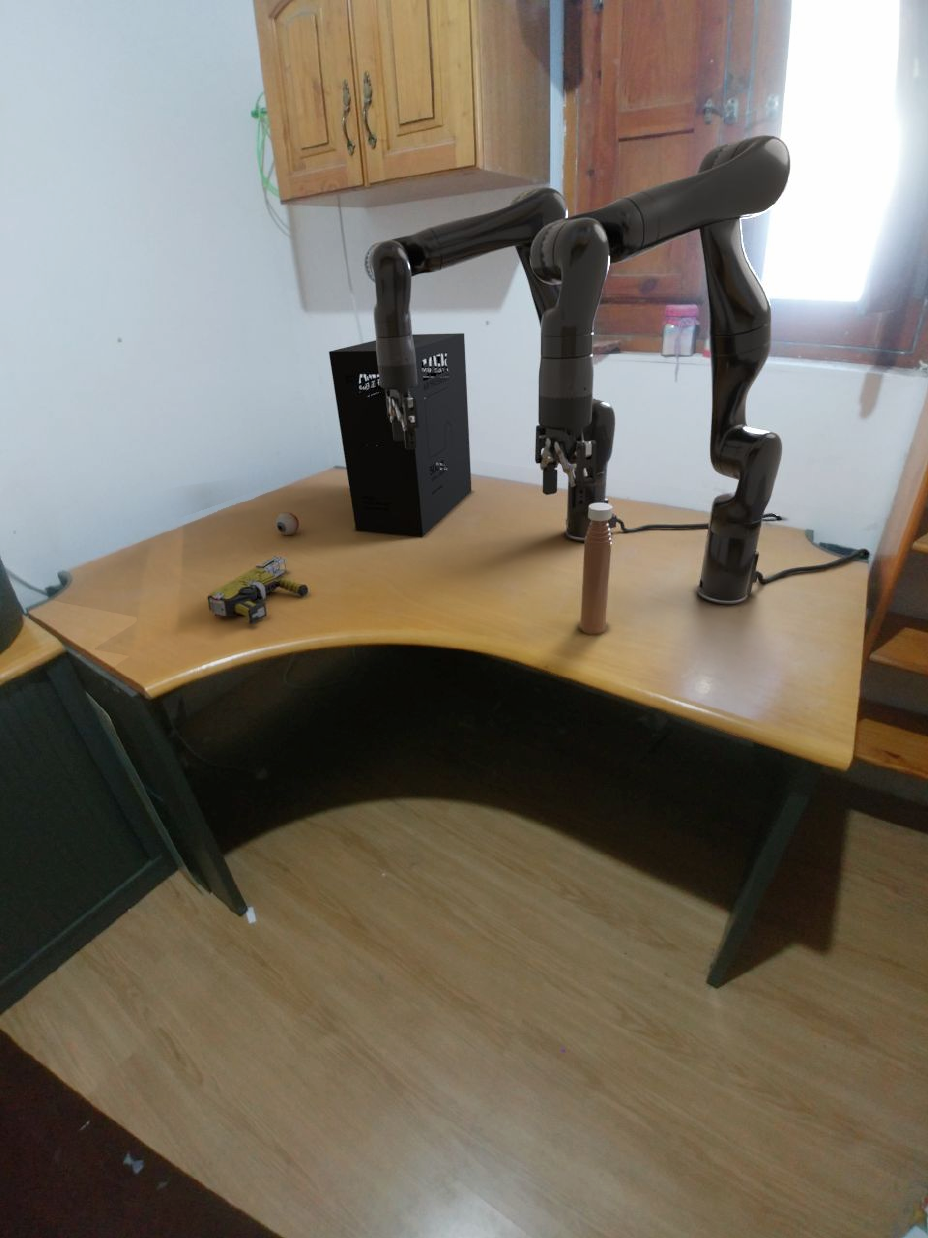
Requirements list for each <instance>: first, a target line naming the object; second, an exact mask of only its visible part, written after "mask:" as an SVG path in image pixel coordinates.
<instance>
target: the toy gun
mask: <svg viewBox="0 0 928 1238" xmlns="http://www.w3.org/2000/svg"><path fill="white" fill-rule="evenodd" d="M282 565H284V568H281V566H282ZM284 573H287V561H286V559H285V557H282V556H280V557H279V556H278V555H273V557H271V558H270V559H268V560H267V561H264V562H262V563H261V564H260V565H255V566H254V567H253V568H251V569H250V570H248V571H246V572H245V573H243V574H242V575H240V576H237V577H236V578H234V579H233V580H231V581H229V582H228V583H226V584H225V585H223V586H221V587H220V588H218V589H216V590H215V591H213V592H211V593H210V594H208V596H206V597H207V599H206V600H207V603H208V609H209V611H210V612H211V613H212V614H213V615H214V617H218V618H222V617H234V616H238V615H242V616H245V617H247V618H248V619H249V624H251V625H253V624H254V623H257V622H258V621H260V620H262V619H264V618H265V617H268V616H267V608H266V603H265V602H264V600H266V599H267V594H268V593H270V592H273V591H275V590H276V589H278V588H280V589H282V590H286V591H289V592H291V593H293V594H297V595H298V596H300V597H304V596H306V595H308V593H309V587H308V586H307V584H302V583H300V582H296V581H294V580H291V579H288V578H286V577H281V578H280V579H279V580H277V579H276V578H278V577H280V576H281V575H282V574H284Z"/></svg>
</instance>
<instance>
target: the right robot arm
mask: <svg viewBox="0 0 928 1238" xmlns="http://www.w3.org/2000/svg"><path fill="white" fill-rule="evenodd" d="M790 173H791V156H790V151H789V149H788V146H787V145H786V143H785V142H784V141H783V140H782V139H781V138H779V137H777V136H774V135H769V134H768V135H766V134H763V135H757V136H752V137H748V138H744V139H740V140H736V141H731V142H728V143H724V144H720V145H717V146H715V147H713V148H711V149H709V150H708V151H707V153H706V154H704V156H703V158H702V159H701V161H700V164H699V167H698V170H697V173H696V174H693V175H690V176H686V177H682V178H678V179H675V180H670V181H667V182H663V183H660V184H656V185H652V186H648V187H646V188H644V189H641V190H638V191H636V192H632V193H630V194H628V195H625V196H623V197H620V198H618V199H616V200H614V201H611V202H610V203H608V204H606V205H603V206H601V207H599V208H596V209H592V210H589V211H584V212H581V213H577V214H574V215H570V216H568V217H567V218H563V219H560V220H557V221H555V222H552V223H550V224H548V225H546V226H545V227H544V228H543V229H541V230H540V232H539V233H538V234H537V235H536V237H535V239H534V241H533V243H532V246H531V250H530V264H531V267H532V270H533V272H534V274H535V275H536V276H537V277H538V278H539V279H540V280H541V281H543V282H545V283H547V284H551V285H561V289H560V294H559V298H558V302H557V305H556V306H555V307H552V308H550V309H548V310H547V311H546V312H545V313H544V314H543V316H542V321H541V328H540V358H539V359H540V362H539V369H538V412H537V413H538V415H537V416H538V417H537V418H538V425H536V426H535V448H534V449H535V450H534V461H535V464H537V465H538V464H539V468H540V470H541V471H542V493H543V494H544V495H546V496H549V495H554V494H556V493H557V492H558V466H559V465H561V469H562V472H563V473H564V474H566V475H567V480H568V479H569V482H570V485H571V486H570V492H569V509H570V510H572V511H578V510H582V509H584V507H585V488H586V485H588V484H593V483H595V481H596V441H595V440H592V441H584V437H583V429H584V428H585V427H586V426H588V425H589V424H590V423H591V419H592V398H594V397H593V395H594V374H595V373H594V372H595V371H594V355H593V353H594V335H595V329H594V328H595V326H594V325H595V319H596V316H597V313H598V309H599V306H600V303H601V298H602V295H603V290H604V287H605V283H606V280H607V276H608V271H609V267H610V265H614V264H620V263H624V262H626V261H629V260H631V259H634V258H636V257H639V256H641V255H643V254H645V253H647V252H650V251H652V250H654V249H657V248H658V247H660V246H663V245H666V244H668V243H670V242H672V241H675V240H676V239H679V238H681V237H683V236H686V235H688V234H690V233H692V232H693V233H694V232H695V231H697V230H698V232H699V238H700V244H701V251H702V258H703V265H704V274H705V286H706V287H705V288H706V299H707V300H706V301H707V314H708V315H707V316H708V317H707V319H708V321H707V322H708V323H707V324H708V328H707V329H708V347H709V348H708V351H709V360H710V375H711V376H710V378H711V379H710V380H711V416H710V417H711V420H710V437H709V459H710V463H711V466H712V468H713V470H714V471H715V472H716V473H718V474H719V475H722V476H724V477H728V478H731V479H733V480H737V485H736V489H735V492H727V493H722V494H719V495H717V496H716V497H715V498H713V500H712V504H711V508H710V515H709V521H708V523H709V527H707V535H706V540H705V546H704V552H703V559H702V564H701V570H700V575H699V578H698V579H699V582H698V586H697V594H698V595H699V596H700V597H701V599H703V600H706V601H707V602H711V603H714V604H718V605H738V604H742V603H744V602H745V601H746V600H747V599H748V597H750V596H751V594H752V591H753V585H754V584H755V583H757V581H758V583H760V584H768V583H771V582H774V581H776V580H778V579H780V578H782V577H784V576H787V575H789V574H793V573H794V574H795V573H800V572H810V571H819V570H825V569H828V568H833V567H835V566H838V565H840V564H843V563H844V562H847V561H849V560H852V559H855V558H856V557H859V556H861V554H864V555H866V556H869V555H871V552H870V551H869V550H868V549H867V548H860V549H858V550H855V551H854V552H852V553H850V554H848V555H845V556H843V557H841V558H838V559H836V560H833V561H830V562H827V563H823V564H817V565H816V564H815V565H808V566H798V567H791V568H787V569H784V570H782V571H779V572H777V573H776V574H774V575H772V576H771V577H768V578H764V576H763V573H762V572H760V571H759V570H757V567H758V561H759V558H760V557H759V556H760V553H759V551H758V550H757V547H758V542H759V538H760V535H761V534H760V533H761V528H762V523H763V520H764V518H763V515H764V514H765V511H766V508H767V507H768V505H769V502H770V500H771V498H772V495H773V490H774V487H775V483H776V479H777V476H778V472H779V470H780V469H779V468H780V466H781V461H782V456H783V455H782V454H783V442H782V439H781V436H780V435H779V434H778V433H775V432H773V431H770V430H766V429H761V428H755V427H752V426H748V424H747V416H746V415H747V414H746V410H747V409H746V408H747V400H748V394H749V393H750V390H751V388H752V386H753V385H754V383H755V381H756V380H757V378H758V377H759V375H760V373H761V371H762V370H763V368H764V367H765V365H766V363H767V360H768V358H769V355H770V352H771V348H772V308H771V303H770V299H769V297H768V294H767V293H766V290H765V288H764V287H763V285H762V282H761V281H760V279H759V277H758V275H756V272H755V270H754V269H753V266H751V263H750V261H749V260H748V257H747V254H746V252H745V251H746V250H745V247H744V242H743V234H742V233H743V232H742V219H749V218H753V217H756V216H759V215H761V214H762V215H763V213H766V212H767V211H768V210H770V209H771V208H772V207H774V206H775V205H776V203H778V202H779V200H780V199H781V197H782V196H783V194H784V192H785V190H786V188H787V185H788V182H789V178H790ZM575 462H576V464H574V463H575ZM586 468H589V474H588V475H587V472H586ZM574 471H576V477H575V474H574Z"/></svg>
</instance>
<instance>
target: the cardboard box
mask: <svg viewBox="0 0 928 1238" xmlns="http://www.w3.org/2000/svg"><path fill="white" fill-rule="evenodd" d="M412 336H413V342H414V347H415V357H416V369H417V380H418V384H417V385H416V386H415V387H411V388H410V389H409V392H410V396H411V397H413V396H415V397H416V403H417V413H418V422H419V428H416V430H415V435H416V446H417V447H416V449H412V450H407V449H406V448H405V440H403V441H395V440H394V437H393V428H392V423H391V421H390V418H388V416H387V404H386V393H385V389H383V388H381V386H380V380H379V372H378V363H377V354H376V339H375V340H370V341H366V342H362V343H358V344H354V345H351V346H345V347H341V348H338V349H333V350H330V351H328V356H329V362H330V363H329V364H330V369H331V376H332V382H333V389H334V396H335V402H336V409H337V416H338V421H339V429H340V436H341V441H342V449H343V455H344V463H345V468H346V469H345V470H346V475H347V481H348V488H349V489H348V490H349V495H350V503H351V508H352V515H353V522H354V529H355V531H363V532H366V531H367V532H374V533H385V534H397V535H405V536H406V535H407V536H416V537H417V536H418V537H424V536H425V535H426V534H428V532H429V531H430V530H432V529H433V528H434V527H435V526H436V525H437V524H439V522H440V521H441V520H443V518H445V517H446V516H447V515H448V514H449V513H450V512H451V511H452V510H453V509H454V508H456V506H458V505H459V503H461V502H462V501H463V500H464V499H465V498H466V497H467V496H468V495H470V494H471V492H472V472H471V449H470V448H471V447H470V430H469V429H470V428H469V407H468V405H469V404H468V386H467V385H468V384H467V366H466V365H467V363H466V362H467V361H466V343H465V342H466V341H465V340H466V339H465V333H464V332H462V333H461V332H460V333H459V332H458V333H457V332H455V333H415V334H414V333H412ZM434 357H435V358H434ZM430 358H431V363H430ZM424 360H425V361H426V362H425V361H424ZM442 361H443V363H442ZM435 363H436V365H435ZM430 364H431V365H430ZM373 375H375V377H374V376H373ZM370 376H371V377H370ZM409 423H411V421H410V420H409Z"/></svg>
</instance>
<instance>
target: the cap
mask: <svg viewBox="0 0 928 1238" xmlns="http://www.w3.org/2000/svg"><path fill="white" fill-rule="evenodd" d="M612 514H613V506H612V504H611V503H608V504H607V503H593V504H590V505H589V511H588V517H589V519H591V520H595V521H606V520H609V519H611V516H612Z"/></svg>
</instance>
